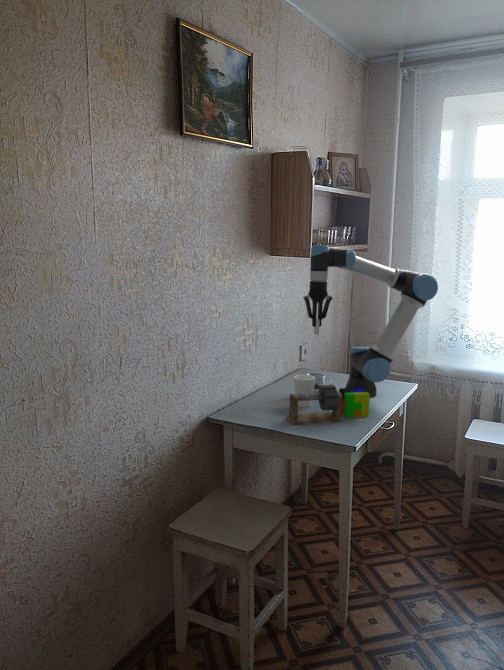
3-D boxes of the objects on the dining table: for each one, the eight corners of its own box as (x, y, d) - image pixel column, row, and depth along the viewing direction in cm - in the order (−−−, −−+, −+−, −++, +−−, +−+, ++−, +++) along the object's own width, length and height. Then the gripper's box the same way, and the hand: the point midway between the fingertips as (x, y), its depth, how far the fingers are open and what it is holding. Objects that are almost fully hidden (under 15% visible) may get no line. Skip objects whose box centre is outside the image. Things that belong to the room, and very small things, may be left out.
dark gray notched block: (328, 404, 233) (330, 382, 230) (337, 413, 223) (338, 390, 221) (317, 404, 232) (319, 382, 229) (325, 413, 222) (327, 390, 220)
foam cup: (312, 409, 240) (314, 380, 237) (292, 407, 242) (292, 379, 239) (314, 402, 249) (315, 375, 246) (294, 401, 251) (295, 373, 248)
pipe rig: (336, 414, 233) (337, 388, 231) (343, 421, 225) (345, 395, 223) (286, 417, 229) (287, 391, 227) (292, 424, 220) (293, 397, 218)
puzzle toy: (359, 409, 241) (361, 387, 239) (368, 416, 232) (369, 394, 230) (338, 410, 240) (339, 388, 238) (346, 417, 230) (347, 395, 228)
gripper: (329, 279, 242) (327, 332, 246) (301, 279, 239) (299, 332, 243) (335, 281, 234) (333, 335, 239) (306, 281, 232) (304, 335, 236)
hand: (316, 333), depth 241 cm, fingers closed
